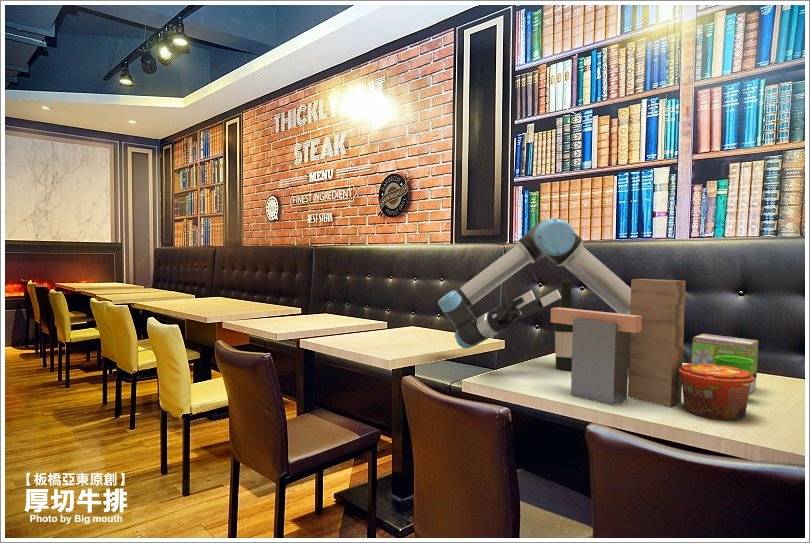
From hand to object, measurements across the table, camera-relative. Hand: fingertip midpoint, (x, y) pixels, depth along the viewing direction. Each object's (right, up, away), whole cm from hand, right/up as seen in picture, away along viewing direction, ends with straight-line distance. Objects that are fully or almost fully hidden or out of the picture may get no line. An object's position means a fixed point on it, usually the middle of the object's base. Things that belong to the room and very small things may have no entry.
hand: (546, 294), depth 150 cm
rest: (+11, -27, -12) cm, 32 cm away
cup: (+47, -28, -11) cm, 56 cm away
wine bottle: (+14, -26, +23) cm, 38 cm away
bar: (+10, -8, -11) cm, 17 cm away
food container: (+35, -28, -23) cm, 51 cm away
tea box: (+53, -28, +1) cm, 59 cm away
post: (+25, -28, -13) cm, 40 cm away
